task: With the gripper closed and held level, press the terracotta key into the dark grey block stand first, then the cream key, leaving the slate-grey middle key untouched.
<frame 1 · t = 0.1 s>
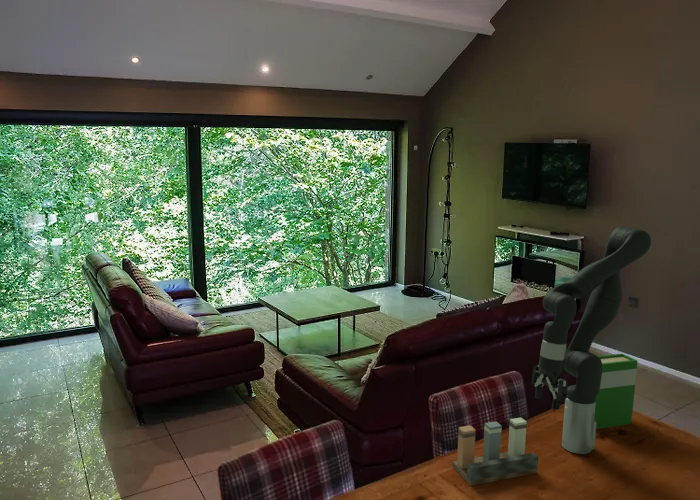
hand: (546, 403, 177), 17 cm above the table, tool pointing down, fingers open, 8 cm apart
hardback book: (603, 422, 203), on the table
dark grey block stand: (494, 469, 171), on the table
cream key: (517, 438, 174), point 8 cm above the table, slide at 0.0 cm
terracotta key: (466, 447, 169), point 8 cm above the table, slide at 0.0 cm
slate key: (492, 442, 172), point 8 cm above the table, slide at 0.0 cm
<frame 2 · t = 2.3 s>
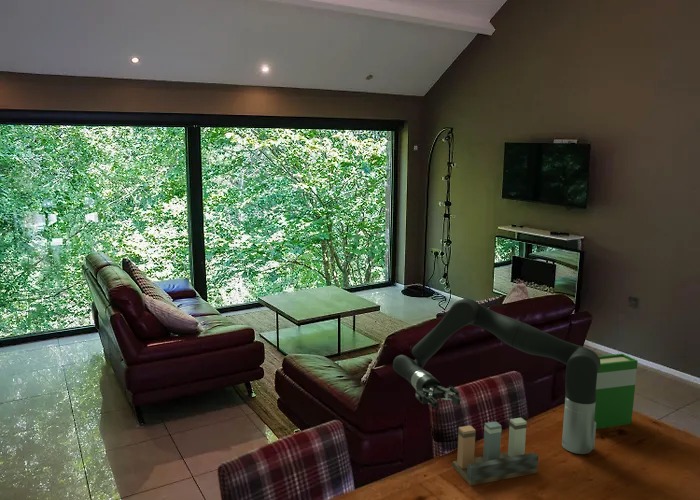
hand: (448, 404, 179), 16 cm above the table, tool horizontal, fingers open, 7 cm apart
nothing on the table moved.
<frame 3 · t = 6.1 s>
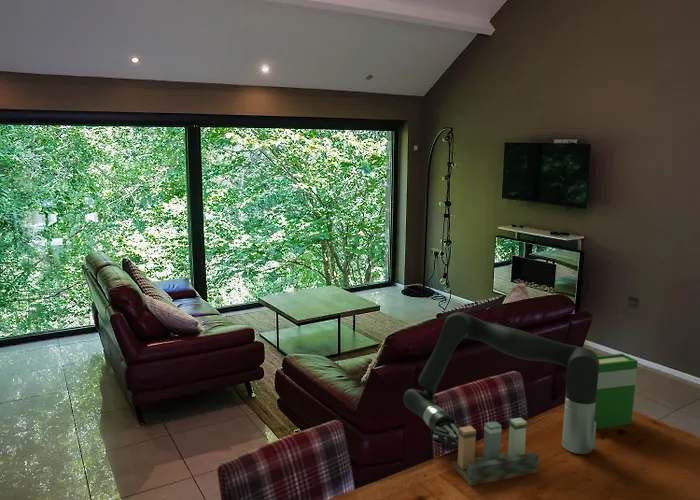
hand: (464, 446, 170), 7 cm above the table, tool horizontal, fingers closed
terracotta key: (466, 447, 168), point 8 cm above the table, slide at 0.3 cm, touching gripper
everything else where it was.
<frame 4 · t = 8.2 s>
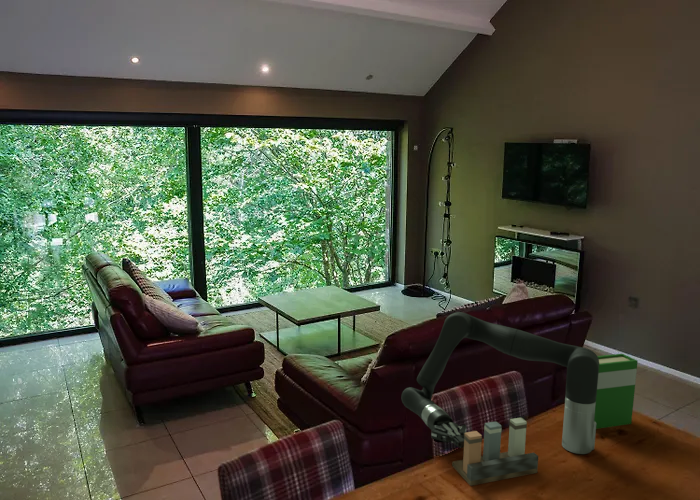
hand: (462, 444, 170), 8 cm above the table, tool horizontal, fingers closed
terracotta key: (472, 452, 165), point 8 cm above the table, slide at 3.6 cm
everything else where it was.
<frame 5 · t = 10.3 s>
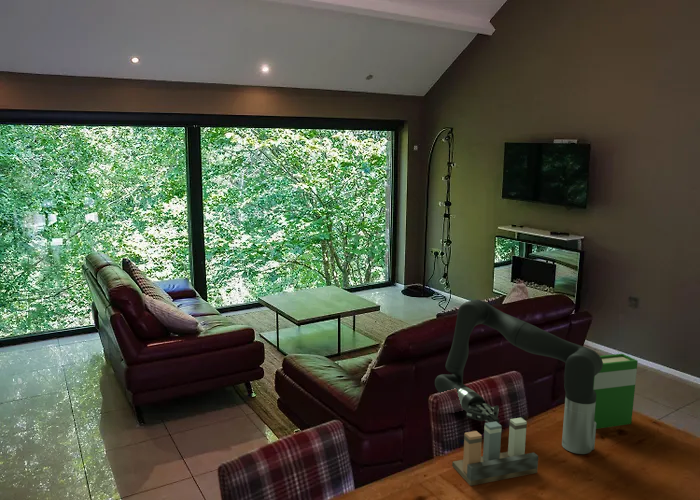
hand: (496, 422, 185), 7 cm above the table, tool horizontal, fingers closed
nothing on the table moved.
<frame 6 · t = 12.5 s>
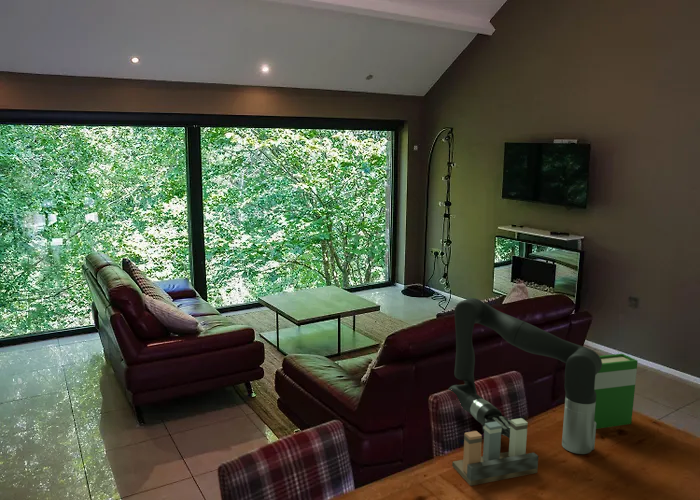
hand: (515, 437, 175), 8 cm above the table, tool horizontal, fingers closed
cream key: (518, 439, 174), point 8 cm above the table, slide at 0.4 cm, touching gripper
everything else where it was.
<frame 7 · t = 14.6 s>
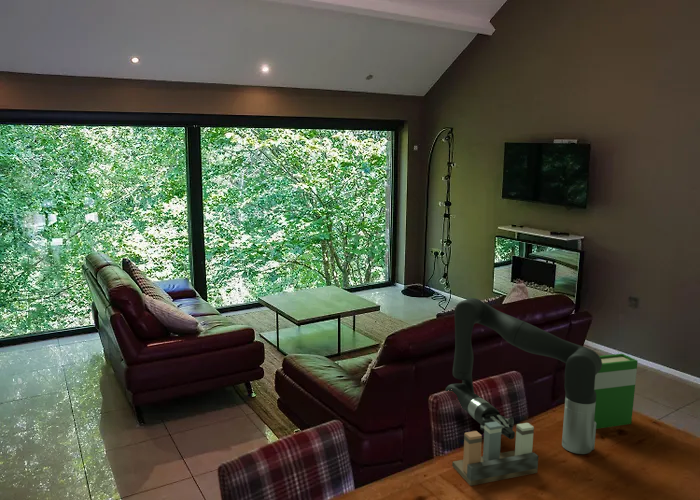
hand: (512, 436, 176), 7 cm above the table, tool horizontal, fingers closed
cream key: (524, 443, 171), point 8 cm above the table, slide at 3.6 cm
everything else where it was.
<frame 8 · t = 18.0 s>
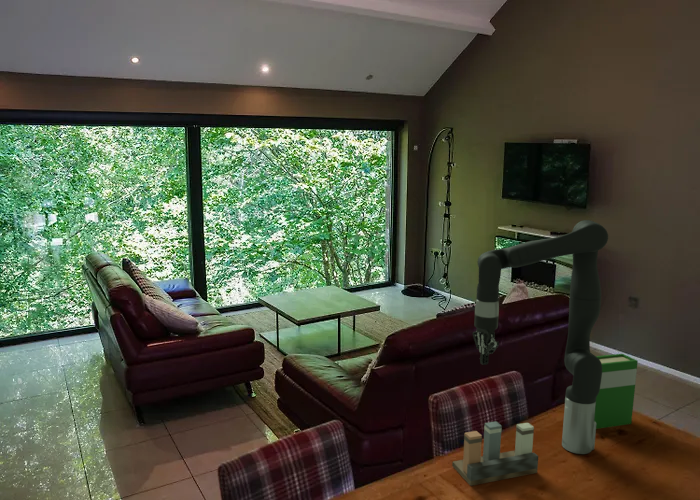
hand: (484, 363, 185), 27 cm above the table, tool pointing down, fingers closed
nothing on the table moved.
at the end: terracotta key slide at 3.6 cm; cream key slide at 3.6 cm; slate key slide at 0.0 cm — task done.
